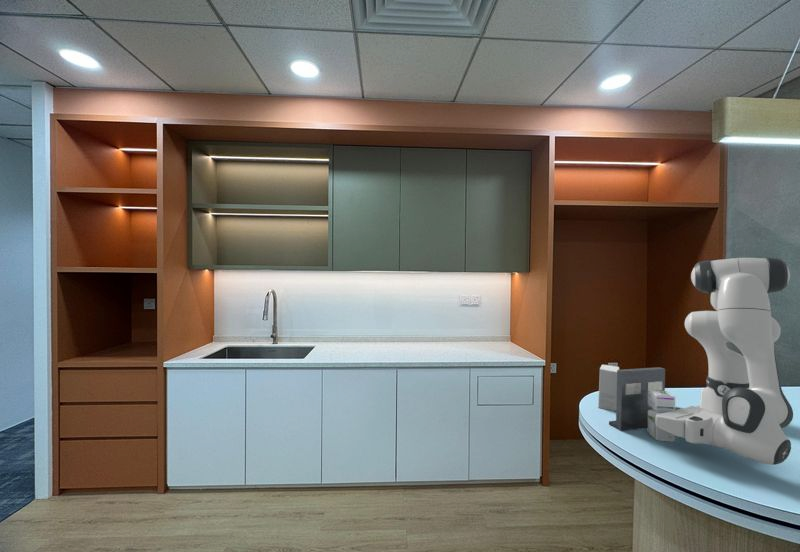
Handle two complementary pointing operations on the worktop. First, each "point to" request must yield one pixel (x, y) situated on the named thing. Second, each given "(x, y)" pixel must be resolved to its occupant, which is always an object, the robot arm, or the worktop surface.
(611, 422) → the label panel
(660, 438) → the syrup box
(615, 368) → the skincare box
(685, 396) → the worktop surface
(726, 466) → the worktop surface
